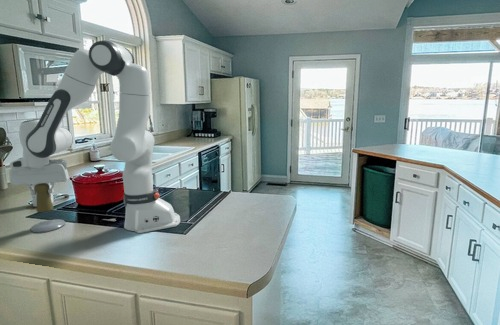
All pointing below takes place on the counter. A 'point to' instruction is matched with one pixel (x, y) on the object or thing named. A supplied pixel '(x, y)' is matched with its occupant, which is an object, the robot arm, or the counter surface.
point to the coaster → (48, 226)
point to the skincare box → (34, 197)
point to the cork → (43, 198)
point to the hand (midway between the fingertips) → (42, 193)
